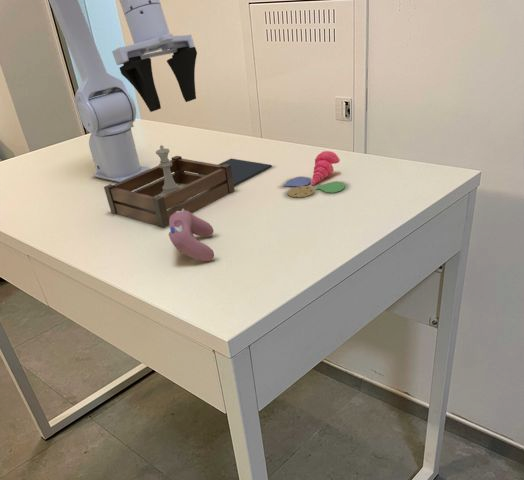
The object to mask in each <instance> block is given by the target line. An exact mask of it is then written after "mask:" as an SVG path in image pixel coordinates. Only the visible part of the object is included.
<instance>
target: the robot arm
mask: <svg viewBox="0 0 524 480" xmlns="http://www.w3.org/2000/svg"><path fill="white" fill-rule="evenodd" d="M48 1H49V4H50V7H51V9H52V12H53V15H54V16H55V19H56V21H57V24H58V26H59V29H60V32H61V34H62V35H63V38H64V40H65V42H66V45H67V47H68V50H69V52H70V55H71V58H72V59H73V62H74V64H75V66H76V69H77V71H78V74H79V76H80V79H81V81H82V82H81V84H80V85H79V87H78V89H76V92H75V95H74V101H75V103H76V107H77V110H78V116H79V119H80V121H81V123H82V126H83V127H84V128H85V130H86V131H87V132H89V133H90V135H89V138H88V147H89V151H90V154H91V157H92V161H93V164H94V167H95V171H96V173H94V174H93V176H94V177H95V178H99V179H103V180H108V181H112V182H116V183H119V182H122V181H124V180H126V179H128V178H131V177H133V176H135V175H138V174H140V173H142V172H145V171H147V170H149V169H151V167H148V166H143V165H141V163H140V159H139V155H138V151H137V148H136V143H135V139H134V136H133V135H134V134H133V131H132V128H134V127H135V126H134V123H135V121H136V118H137V107H136V104H135V101H134V98H133V97H132V96H131V94H130V93H129V91H128V89H127V87H126V85H125V83H124V81H123V80H121V79H120V78H118V77H115V76H114V75H111V74H110V73H109V72H107V70H106V67H105V65H104V62H103V60H102V57H101V55H100V51H99V50H98V47H97V45H96V44H97V43H96V42H95V39H94V37H93V34H92V32H91V30H90V27H89V24H88V22H87V20H86V17H85V15H84V12H83V9H82V7H81V5H80V2H79V0H48ZM119 4H120V6H121V10H122V13H123V15H124V18H125V21H126V25H127V27H128V30H129V33H130V36H131V38H132V42H133V43H132V44H128V45H124V46H119V47H117V48H115V49H113V50H112V51H111V52H112V53H111V54H112V56H113V58H114V61H115V64H116V66H120V65H121V66H120V67H119V71H120V73H121V75H122V76H123V77H124V79H126V80H127V81H128V82H129V83H130V84H131V85H132V87H133V88H134V89H135V90H136V92H137V93H138V94H139V96H140V97H141V99H142V100H143V102H144V104H145V106H146V107H147V108H148V110H149V112H150V113H152V112H154V111H155V112H156V111H158V110H160V109H162V107H161V101H160V98H159V94H158V92H157V88H156V84H155V80H154V75H153V68H152V58H156V57H161V56H165V55H170V54H172V55H171V58H169V59H167V60H166V63H167V64H168V66H169V67H170V69H171V71H172V73H173V75H174V77H175V79H176V81H177V83H178V87H179V90H180V93H181V95H182V98H183V100H184V102H185V103H187V102H191V101H193V100H196V99H197V95H196V94H197V93H196V92H197V91H196V80H195V78H196V77H195V73H196V72H195V71H196V61H197V55H198V51H197V49H196V46H195V42H194V39H193V36H192V34H185V35H184V34H183V35H174V34H173V33H170V30H169V26H168V23H167V20H166V17H165V13H164V10H163V8H162V4H161V1H160V0H119Z"/></svg>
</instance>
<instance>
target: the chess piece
mask: <svg viewBox="0 0 524 480" xmlns="http://www.w3.org/2000/svg"><path fill="white" fill-rule="evenodd" d="M164 147H165V146H164V145H161V144H160V146H159V149H157V150H156V151H155V154H156V155H157V156H158V157H159V162H160V163H159V164H158V166H159V168H163V173H164V177H163V178H164V186H163V187H162V188H163V191H162V192H160V193H159V196H164V195H166V194H168V193H171V192H173V191H175V190H177V189H179V188H180V187H179V184H177V183H175V182H174V179H173V177H172V174H173V173H171V171H170V167H171V166H172V162H170V159H169V153H170V149H169V148H164ZM183 202H184V201H183ZM181 203H182V202H181ZM179 204H180V203H179ZM177 205H178V204H177Z"/></svg>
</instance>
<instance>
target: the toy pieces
mask: <svg viewBox="0 0 524 480" xmlns="http://www.w3.org/2000/svg"><path fill="white" fill-rule="evenodd" d="M340 161H341V159H340V158H339V156H338V155H337V154H336V153H335V152H334V151H331V150H324V151H321V152H320V153H319V154H317V156H316V157H315V159H314V167H313V172H312V173H313V174H312V181H311V178H310V177H307V176H297V177H293V178H291V179H289V180H287V181H286V182H285V184H283V187H293V188H290V189H289V190H288V191H287V195H288V196H289V197H291V198H306V197H309V196H310V197H311V196H312V195H313V194H314V193H315V190H320V191H323V192H325V193H327V194H332V193H333V194H335V193H339V192H341V191H342V190H344V189H345V188H346V183H344V182H342V181H332V182H327V183H324V184H318V183H319V182H321V181H323V180H324V179H326V178H327V177H328V176H331V175H332V173H333V172H334V166H333V164H334V165H335V164H339V163H340ZM310 183H311V186H309V184H310ZM316 184H317V185H316ZM315 185H316V186H315ZM313 186H315V188H314V187H313Z"/></svg>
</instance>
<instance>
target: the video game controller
mask: <svg viewBox="0 0 524 480" xmlns="http://www.w3.org/2000/svg"><path fill="white" fill-rule="evenodd" d="M168 227H169V232H168V237H169V239H170V242H171V244H172V245H173V246H174V247H175V249H176V250H177V251H178V252H179V253H182V254H184V255H187V256H188V257H190V258H192V259H194V260H197V261H200V262H210V261H212V260H213V259H214V258H215V252H214V250H213V249H212V248H211V246H209V245H207V244H205V243H204V242H202V241H200V240H198V239H197V238H196V236H199V237H205V238H206V237H208V238H209V237H212V235H213V234H214V227H213V226H212V225H211V223H210V222H208V221H206V220H204V219H202V218H200V217H199V216H196V215H195V214H193V212H192V213H190V212H189V211H185V210H184V209H182V211H176V212H175V213H174V214H172V215H171V216H170V219H169V225H168Z"/></svg>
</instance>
